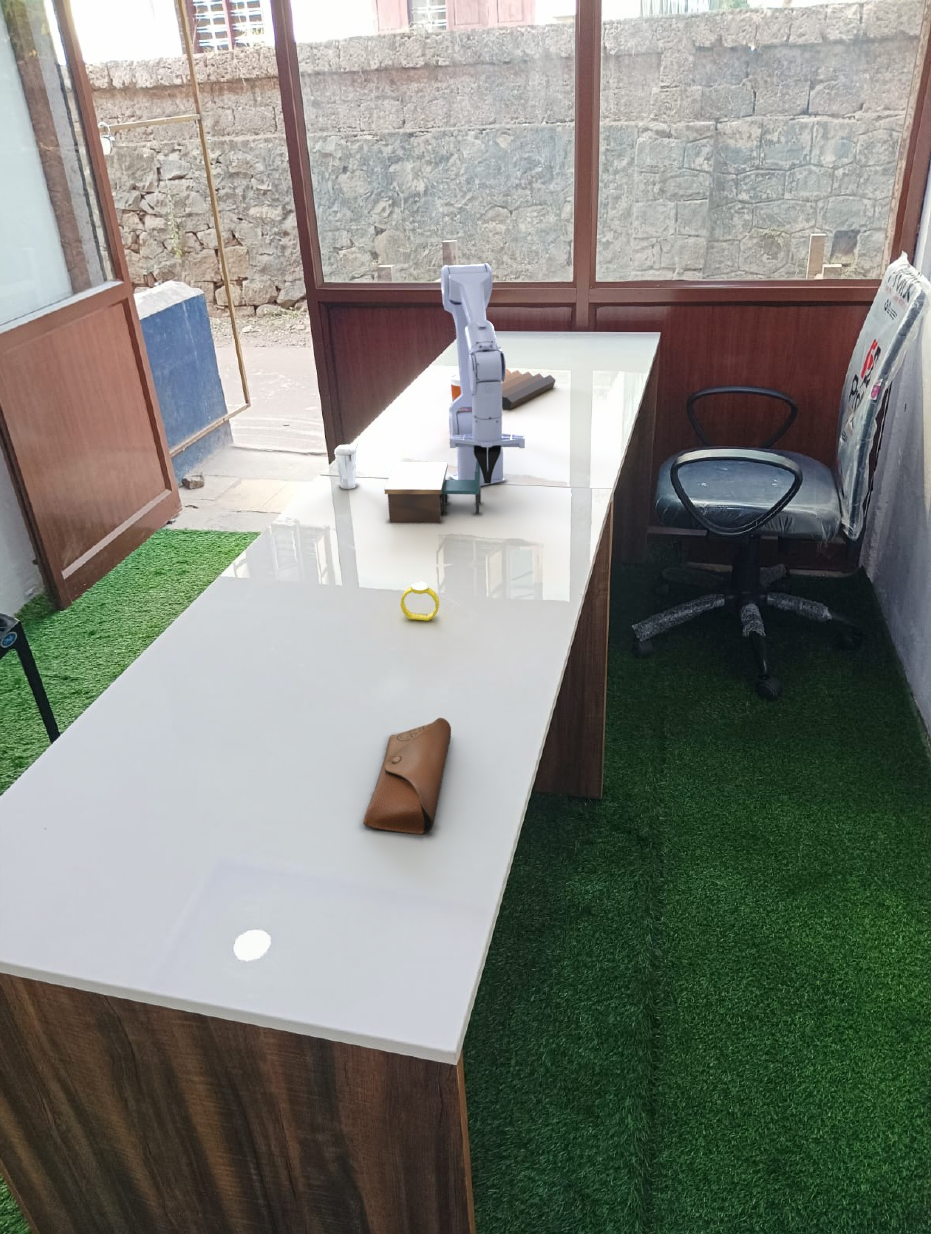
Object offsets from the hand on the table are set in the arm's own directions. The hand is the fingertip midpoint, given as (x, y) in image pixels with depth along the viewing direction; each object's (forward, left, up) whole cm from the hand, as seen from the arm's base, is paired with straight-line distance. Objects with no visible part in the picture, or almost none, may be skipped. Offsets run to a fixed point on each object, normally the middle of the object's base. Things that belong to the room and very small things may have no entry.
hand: (487, 481), depth 182 cm
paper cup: (-18, -45, -6) cm, 49 cm away
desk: (+12, -7, -6) cm, 15 cm away
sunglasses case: (+48, +71, -6) cm, 86 cm away
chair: (+5, -3, -6) cm, 8 cm away
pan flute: (-41, -73, -6) cm, 84 cm away
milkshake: (+20, -25, -6) cm, 33 cm away
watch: (+30, +35, -6) cm, 46 cm away
